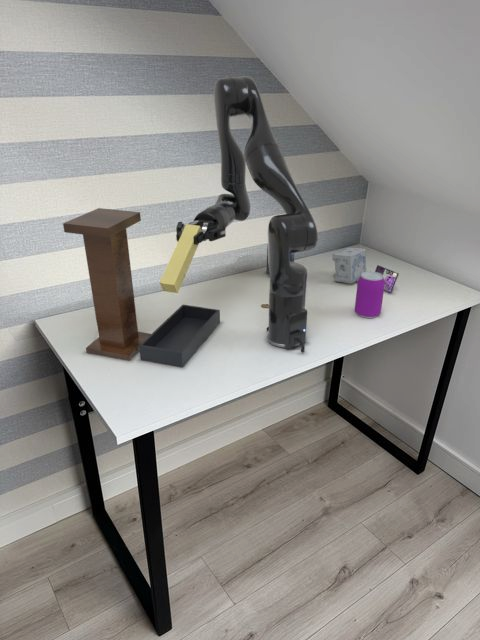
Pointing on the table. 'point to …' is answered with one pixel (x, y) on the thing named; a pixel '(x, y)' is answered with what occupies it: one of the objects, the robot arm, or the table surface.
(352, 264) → the incense holder
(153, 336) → the pan
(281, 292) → the robot arm
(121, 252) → the shelf stand
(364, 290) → the beverage can
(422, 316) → the table surface
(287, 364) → the table surface
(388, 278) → the game card
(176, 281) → the butter
